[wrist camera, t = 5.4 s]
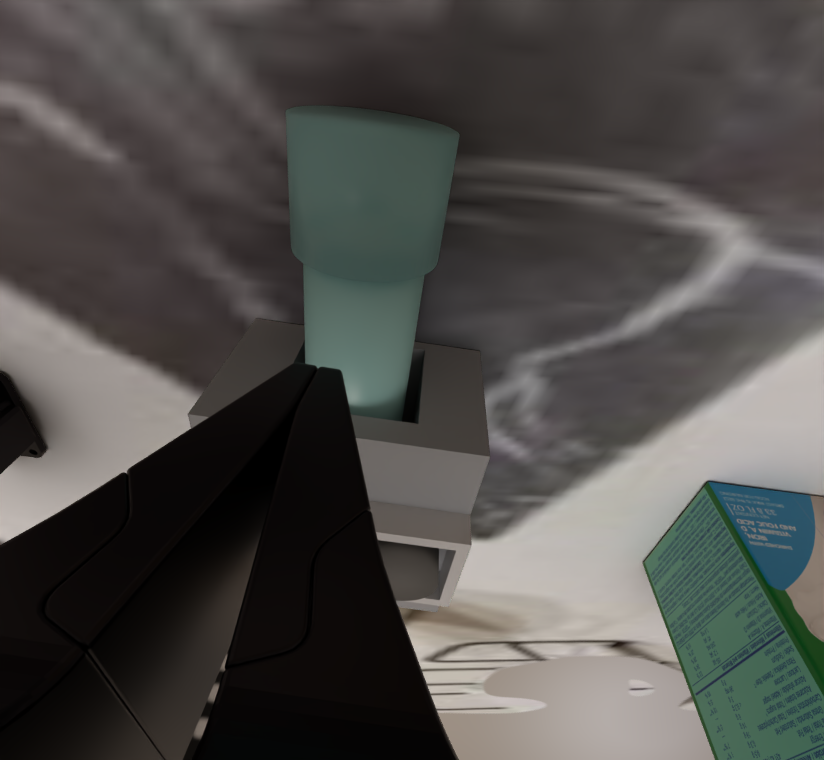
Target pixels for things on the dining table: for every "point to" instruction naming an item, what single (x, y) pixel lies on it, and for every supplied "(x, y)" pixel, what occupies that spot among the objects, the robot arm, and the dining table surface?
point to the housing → (394, 443)
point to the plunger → (410, 569)
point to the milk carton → (748, 618)
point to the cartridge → (366, 240)
